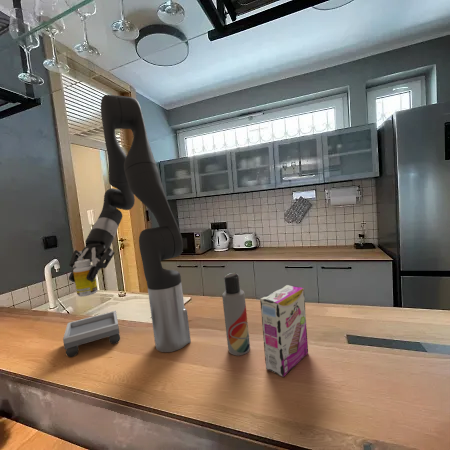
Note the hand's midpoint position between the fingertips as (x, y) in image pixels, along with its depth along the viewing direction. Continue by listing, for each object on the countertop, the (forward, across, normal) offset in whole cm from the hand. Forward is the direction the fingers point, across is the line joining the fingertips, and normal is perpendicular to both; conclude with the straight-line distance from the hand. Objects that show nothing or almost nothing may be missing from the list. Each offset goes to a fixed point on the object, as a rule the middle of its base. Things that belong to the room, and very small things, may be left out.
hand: (80, 280), depth 76 cm
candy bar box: (+17, +58, +12) cm, 61 cm away
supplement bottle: (+2, 0, +5) cm, 5 cm away
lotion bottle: (+14, +45, +15) cm, 50 cm away
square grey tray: (+13, 0, +15) cm, 20 cm away
